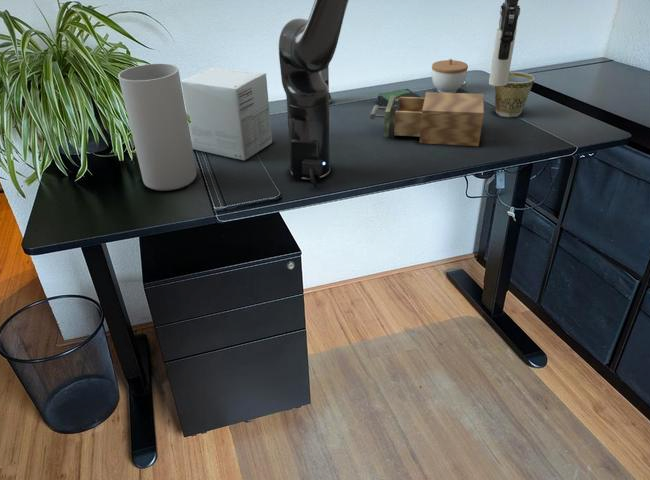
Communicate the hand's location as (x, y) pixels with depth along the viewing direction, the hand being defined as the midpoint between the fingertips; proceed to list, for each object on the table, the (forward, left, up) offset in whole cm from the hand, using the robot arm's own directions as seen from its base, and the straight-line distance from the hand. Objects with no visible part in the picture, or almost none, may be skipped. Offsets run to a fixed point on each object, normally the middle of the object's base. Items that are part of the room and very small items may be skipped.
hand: (502, 56), depth 126 cm
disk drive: (+23, +24, -21) cm, 39 cm away
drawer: (+4, +21, -20) cm, 30 cm away
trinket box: (+40, +12, -21) cm, 47 cm away
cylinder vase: (-33, +73, -21) cm, 82 cm away
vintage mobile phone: (+24, +49, -21) cm, 58 cm away
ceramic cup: (+23, -6, -21) cm, 32 cm away
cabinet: (+4, +10, -21) cm, 24 cm away
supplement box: (-12, +65, -21) cm, 69 cm away
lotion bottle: (0, 0, -6) cm, 6 cm away
